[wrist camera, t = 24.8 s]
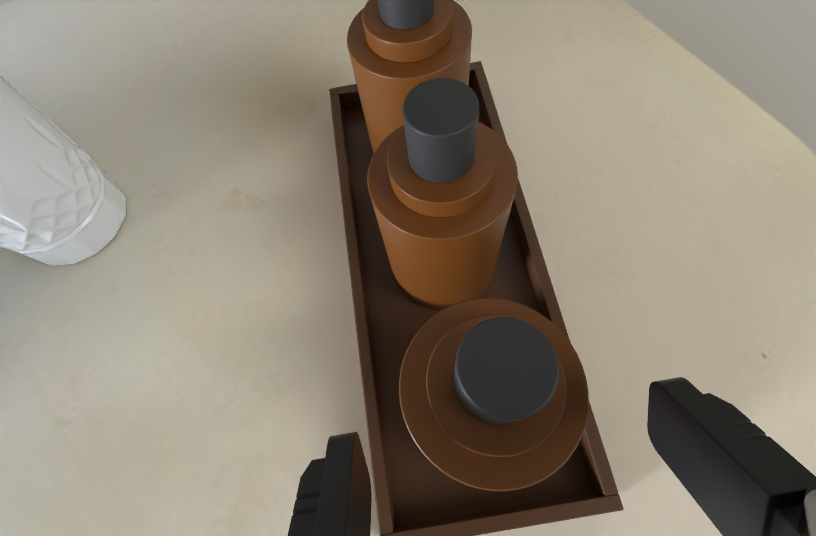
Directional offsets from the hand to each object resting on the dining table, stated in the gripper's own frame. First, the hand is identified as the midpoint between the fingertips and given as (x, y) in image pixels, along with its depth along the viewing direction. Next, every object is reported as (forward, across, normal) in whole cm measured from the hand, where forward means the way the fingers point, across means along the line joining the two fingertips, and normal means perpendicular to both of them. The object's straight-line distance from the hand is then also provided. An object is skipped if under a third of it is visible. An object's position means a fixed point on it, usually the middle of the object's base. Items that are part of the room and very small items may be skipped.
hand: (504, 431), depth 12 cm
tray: (+14, 0, 0) cm, 14 cm away
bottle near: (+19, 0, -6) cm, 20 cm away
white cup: (+20, +23, -5) cm, 31 cm away
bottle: (+8, 0, +6) cm, 10 cm away
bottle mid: (+14, 0, 0) cm, 14 cm away
